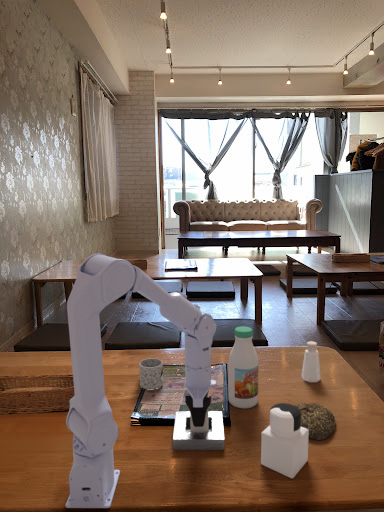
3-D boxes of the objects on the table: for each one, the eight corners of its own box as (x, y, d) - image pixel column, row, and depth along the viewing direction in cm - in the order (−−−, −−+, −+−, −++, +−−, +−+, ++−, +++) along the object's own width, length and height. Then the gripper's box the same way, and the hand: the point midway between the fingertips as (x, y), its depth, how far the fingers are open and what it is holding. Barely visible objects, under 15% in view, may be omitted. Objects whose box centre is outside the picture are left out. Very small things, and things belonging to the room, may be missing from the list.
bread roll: (320, 447, 89) (321, 426, 88) (271, 425, 97) (272, 405, 96) (345, 422, 98) (346, 403, 97) (299, 404, 106) (299, 386, 105)
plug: (208, 432, 91) (208, 406, 90) (190, 432, 91) (190, 407, 90) (208, 422, 95) (208, 397, 94) (191, 422, 95) (190, 397, 94)
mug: (166, 387, 116) (166, 365, 115) (144, 392, 113) (143, 369, 112) (154, 373, 125) (153, 352, 123) (133, 377, 122) (132, 356, 121)
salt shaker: (324, 380, 118) (325, 344, 116) (309, 384, 116) (310, 347, 114) (312, 372, 123) (313, 338, 121) (297, 376, 121) (298, 340, 119)
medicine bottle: (276, 447, 88) (277, 395, 86) (308, 460, 84) (310, 406, 82) (260, 464, 83) (260, 410, 81) (292, 480, 78) (294, 422, 76)
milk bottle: (223, 405, 106) (223, 331, 102) (234, 391, 112) (235, 322, 109) (252, 412, 102) (252, 336, 99) (262, 398, 109) (263, 326, 105)
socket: (224, 449, 88) (224, 439, 87) (173, 449, 88) (172, 439, 88) (221, 420, 98) (221, 411, 98) (176, 421, 99) (176, 411, 98)
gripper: (217, 378, 83) (217, 439, 85) (215, 350, 97) (215, 403, 100) (182, 378, 83) (183, 439, 86) (185, 350, 98) (186, 403, 100)
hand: (198, 420), depth 93 cm, fingers closed on plug, 4 cm apart
